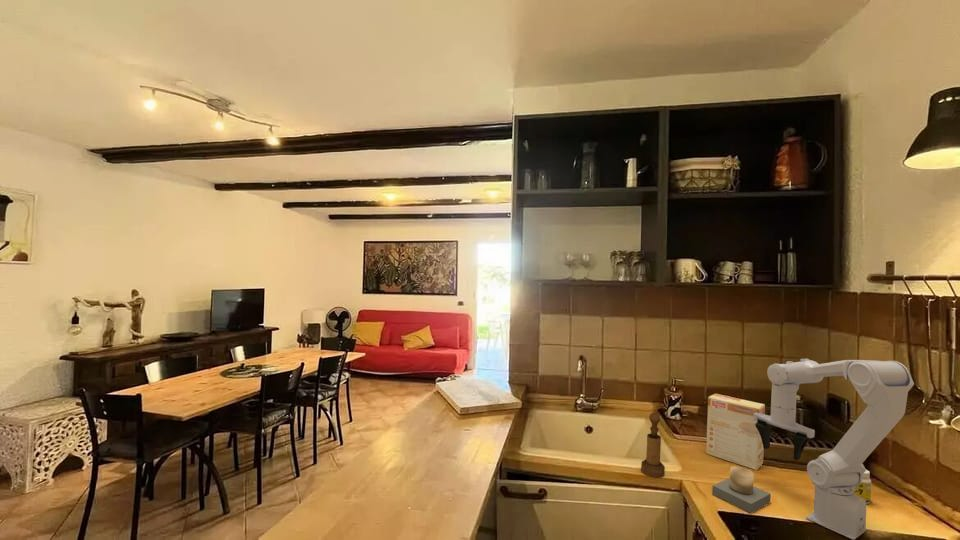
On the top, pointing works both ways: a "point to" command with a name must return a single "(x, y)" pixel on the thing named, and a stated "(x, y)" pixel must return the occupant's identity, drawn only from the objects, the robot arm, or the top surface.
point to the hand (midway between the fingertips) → (781, 453)
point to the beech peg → (741, 480)
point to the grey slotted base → (741, 496)
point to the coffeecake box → (734, 430)
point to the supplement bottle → (864, 487)
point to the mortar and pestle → (653, 451)
